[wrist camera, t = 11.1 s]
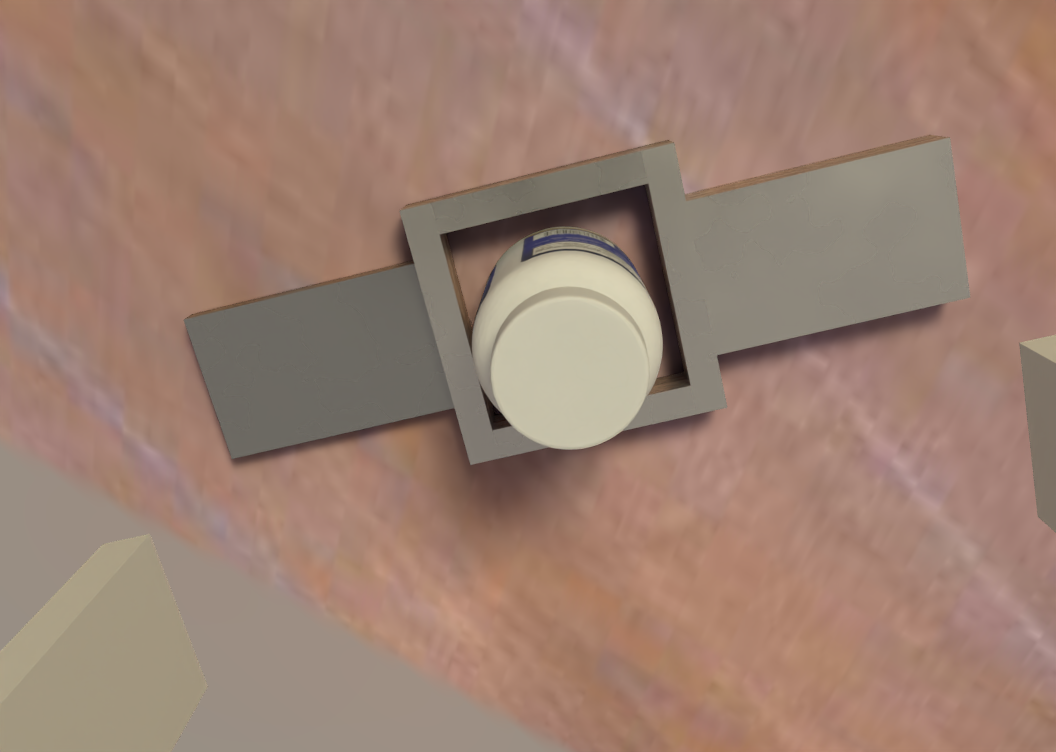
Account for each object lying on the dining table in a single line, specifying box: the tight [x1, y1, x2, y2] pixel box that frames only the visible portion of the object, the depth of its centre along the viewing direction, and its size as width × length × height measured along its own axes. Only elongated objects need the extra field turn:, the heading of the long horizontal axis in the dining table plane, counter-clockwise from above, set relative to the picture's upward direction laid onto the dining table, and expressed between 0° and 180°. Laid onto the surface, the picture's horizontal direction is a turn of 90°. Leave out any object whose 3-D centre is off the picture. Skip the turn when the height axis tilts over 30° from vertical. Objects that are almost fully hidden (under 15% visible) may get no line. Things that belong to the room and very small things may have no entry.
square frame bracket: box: [184, 135, 970, 465], centre depth 32 cm, size 25×9×2 cm, turn 104°
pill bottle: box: [472, 227, 663, 450], centre depth 29 cm, size 5×5×9 cm
